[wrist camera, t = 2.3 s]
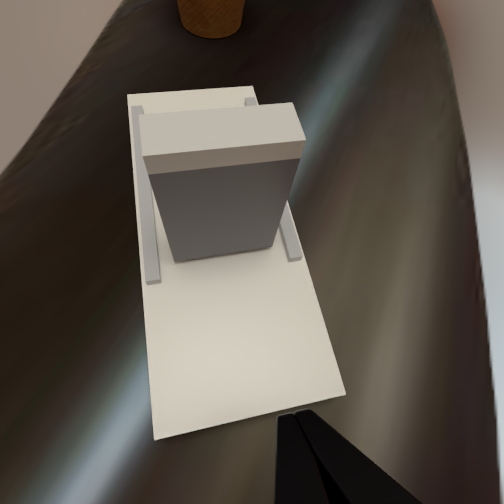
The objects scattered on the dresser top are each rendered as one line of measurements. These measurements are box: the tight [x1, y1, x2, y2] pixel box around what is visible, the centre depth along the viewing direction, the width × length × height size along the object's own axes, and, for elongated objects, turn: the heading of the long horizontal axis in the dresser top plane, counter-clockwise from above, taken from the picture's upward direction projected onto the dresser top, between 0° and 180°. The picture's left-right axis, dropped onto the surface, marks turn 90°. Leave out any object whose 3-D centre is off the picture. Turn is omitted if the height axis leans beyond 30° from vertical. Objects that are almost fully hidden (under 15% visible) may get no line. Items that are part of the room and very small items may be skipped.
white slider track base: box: [127, 86, 346, 440], centre depth 23 cm, size 24×10×3 cm, turn 12°
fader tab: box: [139, 103, 306, 262], centre depth 17 cm, size 2×6×9 cm, turn 102°
